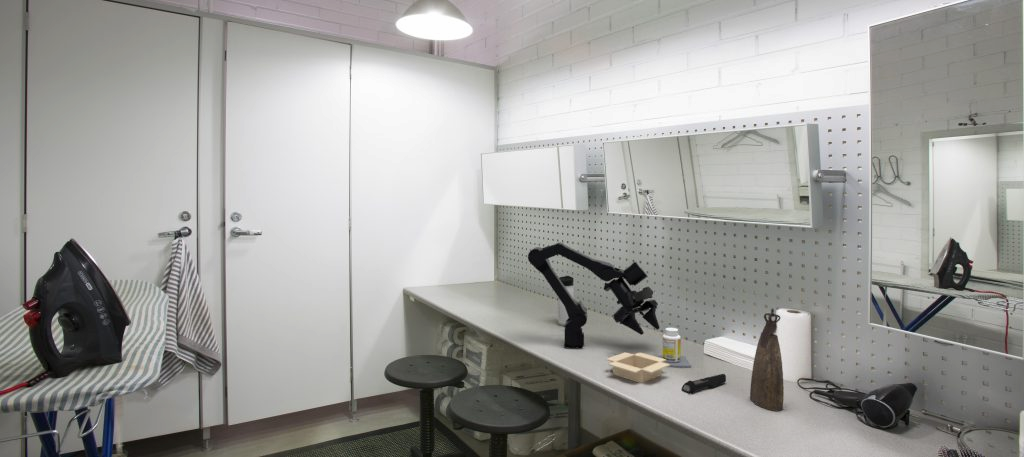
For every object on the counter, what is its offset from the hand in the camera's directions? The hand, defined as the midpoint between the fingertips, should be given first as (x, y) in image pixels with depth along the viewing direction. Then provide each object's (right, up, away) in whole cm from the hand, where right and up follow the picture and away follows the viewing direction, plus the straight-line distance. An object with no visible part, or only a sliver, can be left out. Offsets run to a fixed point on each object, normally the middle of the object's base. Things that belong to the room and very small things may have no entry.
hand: (650, 331), depth 175 cm
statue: (+20, -11, -39) cm, 45 cm away
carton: (-8, -10, -16) cm, 21 cm away
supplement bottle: (+5, -9, -5) cm, 11 cm away
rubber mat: (+5, -9, -5) cm, 12 cm away
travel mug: (-24, -6, +43) cm, 50 cm away
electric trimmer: (+8, -11, -27) cm, 30 cm away
